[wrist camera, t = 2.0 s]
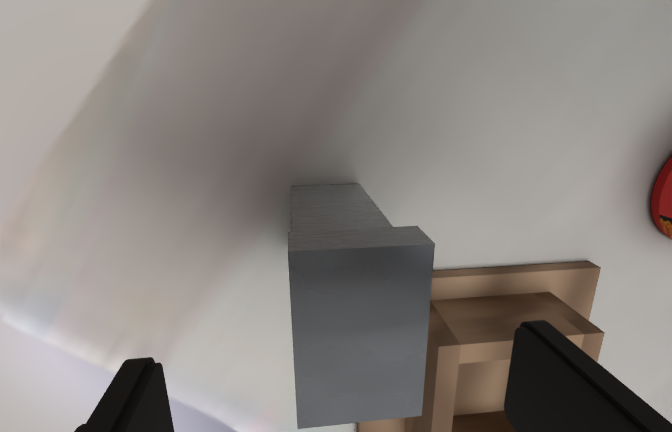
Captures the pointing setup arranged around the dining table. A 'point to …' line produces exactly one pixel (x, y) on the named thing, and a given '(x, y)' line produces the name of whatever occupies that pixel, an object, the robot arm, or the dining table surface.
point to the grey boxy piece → (356, 308)
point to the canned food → (663, 200)
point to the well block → (491, 339)
